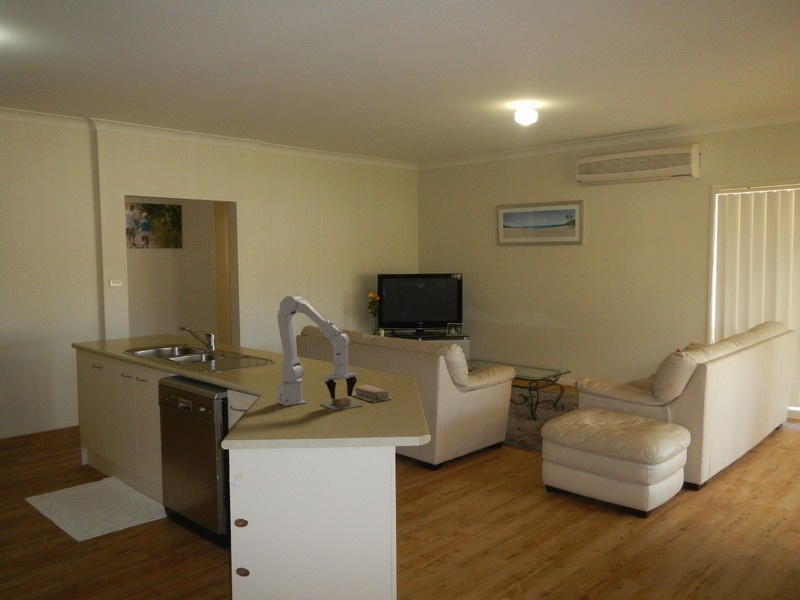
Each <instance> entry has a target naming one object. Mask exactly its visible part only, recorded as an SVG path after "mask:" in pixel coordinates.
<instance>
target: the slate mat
mask: <svg viewBox="0 0 800 600" xmlns="http://www.w3.org/2000/svg"><path fill="white" fill-rule="evenodd" d="M319 405H320V406H321V405H322V406H321V407H324V406H325V407H324V408H326V407H327V408H326V409H329V408H330V409H329V410H332V411H334V410H335V411H339V409H341V410H347V409H346V408H348V409H352V408H351V407H354V408H359V407H358V406H361V407H364V405H363V404H361V403H358V402H355V401H351V405H350V406H344V407H340V406H337V405H334V404H332V401H331V402H330V401H329V402H326V403H325V402H324V403H319Z"/></svg>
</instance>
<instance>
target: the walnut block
mask: <svg viewBox="0 0 800 600" xmlns="http://www.w3.org/2000/svg"><path fill="white" fill-rule="evenodd" d="M331 399H332V398H331ZM331 402H332V404H334V405H337V406H340V407H344V406H350V405H351V398H349V397H345V396H342V395H341V396H335V399H332V400H331Z"/></svg>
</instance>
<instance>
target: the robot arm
mask: <svg viewBox="0 0 800 600" xmlns="http://www.w3.org/2000/svg"><path fill="white" fill-rule="evenodd" d="M297 313H299V314H304V315H305V316H306V317H308V318H309V319H310V320H311V321H312V322H313V323H315V324H316V325H317V326H318V330H319V332H320V333H321V334H322V335H323V336H324V337H325V338H326V339H327V340H328V341H330V344H331V346H332V348H333V374H327V375H324V376H323V381H324V384H325V385H326V387H327V389H328V392H329V395H330V398H331V399H335V397H336V387H337V382H336V381H337V380H345V382H346V389H347V390H346V393H347V396H348V397H353V396H352V394H353V391H354V387H355V385H356V383H357V382H358V378H359V375H358V374H359V373H358V372H349V348H348V347H349V345H350V342H351V341H350V339H351V338H350V336H349V335H348V333H345V332H343V330H341V329H339V328H338V327H337V326H336V325H335V323H334V321H333V320H330V319H329V320H328V319H324V318H323V316H321V315H320V313H319V312H318V311H317V310H316V309H315V308H314V307H313V306H312V305H311V304H310V303H309V302H308V300H307V299H306V298H304V297H303V296H302V295H299V294H295V295H288V296H287V295H286V296H285V297H283V299H282V300H280V302H279V309H278V313H277V317H276V318H277V324H278V331H279V335H280V343H281V347H282V353H283V361H282V364H281V367H282V369H281V373H280V374H281V378H282V380H283V382H280V383H278V385H277V403H278V404H280V405H282V406H287V407H288V406H295V405H300V404H306V403H307V401H305V400H303V379H302V378H303V376H304V375H305V368H304V366H303V364H302V360H301V359H300V358H299V357H298V353H297V347H296V342H295V341H296V340H295V335H294V329H293V323H292V318H293V317H294V316H295V315H296V314H297Z"/></svg>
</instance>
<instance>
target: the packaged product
mask: <svg viewBox="0 0 800 600" xmlns="http://www.w3.org/2000/svg"><path fill="white" fill-rule="evenodd" d="M355 396H356V397H355ZM351 397H355V398H358V397H359V398H358V399H360V398H362V399H361V400H363V399H365V400H364V401H367V400H368V401H367V402H370V401H372V402H371V403H376V402H375V401H380V402H383V401H382V400H387V401H390V400H389V399H392V400H393V397H392V396H390V395H389V391H388V390H386V389H385V388H384V389H383V388H380V387H378V386H373V385H371V384H362V385H358V386H357V387H355V392H352V396H351Z"/></svg>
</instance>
